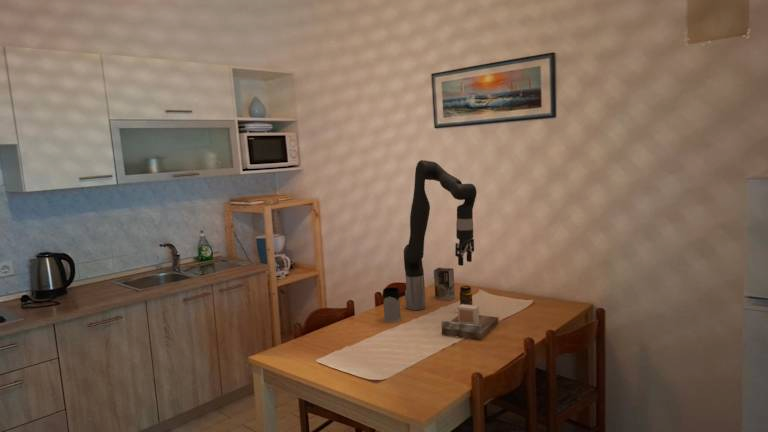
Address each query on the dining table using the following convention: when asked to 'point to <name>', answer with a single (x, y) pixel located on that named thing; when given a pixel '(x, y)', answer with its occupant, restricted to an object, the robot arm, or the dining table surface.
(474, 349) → the dining table surface
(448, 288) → the coffee box
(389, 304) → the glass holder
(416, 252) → the robot arm
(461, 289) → the condiment
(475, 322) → the tea box
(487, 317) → the grey rectangular slab
